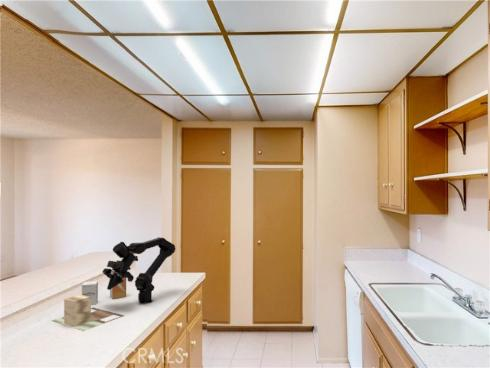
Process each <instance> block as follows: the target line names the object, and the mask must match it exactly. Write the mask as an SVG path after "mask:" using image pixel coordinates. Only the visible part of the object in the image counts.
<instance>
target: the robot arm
mask: <svg viewBox="0 0 490 368" xmlns="http://www.w3.org/2000/svg"><path fill="white" fill-rule="evenodd" d="M155 247H158V248H159V253H158V255H157V256H156V258H155V259H154V260H153V261H152V263H151V264H150V265H149V267H148V268H147V269H146V271H145V272H140V273H139V274H138V275H137V276H136V277H134V275H133V274H132V273H131V272H130V271H131V269H132V268H131V266H132V264H133V263H134V262H138V261H139V256H138V255H141V254H143V253H145V251H147V250H148V249H151V248H155ZM112 252H113V253H114V254H115V255H117V257H118V258H120V259H121V260H116V261H115V260H114V261H113V260H108V262H107V264H106V268H103V270H102V274H103V275H105V276H106V277H107V278H108V279H109V281H108V284H107V287H106V289H107V290H109V291H110V289H112V288H113V287H115V286H116V285H118V284H120V283H121V282H124V281H123V280H124V278H126V281H128V282H129V283H132V282H133V280H134V279H135V280H134V286H135V287H136V291H138V295H137V298H138V299H137V301H138V302H139V303H140V304H149V303H153V299H152V298H153V297H152V296H153V295H152V294H153V293H152V291H154V290H155V285H154V284H152V283H153V278H154V275H155V274H156V273H157V272H158V270H159V269H160V268H161V267H162V265H163V263H164V262H165V261H166V259H167V258H169V257H171V256H172V255H174V253H175V252H176V245H175V244H174V243H172V242H170V241H169V240H167V239H166V238H164V237H160V236H158V237H157V238H153V239H150V240H146V241H144V242H132V243H129V245H127V244H126V243H125V242H124V241H120V242H119V243H116V245H114V246H113V248H112Z"/></svg>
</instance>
